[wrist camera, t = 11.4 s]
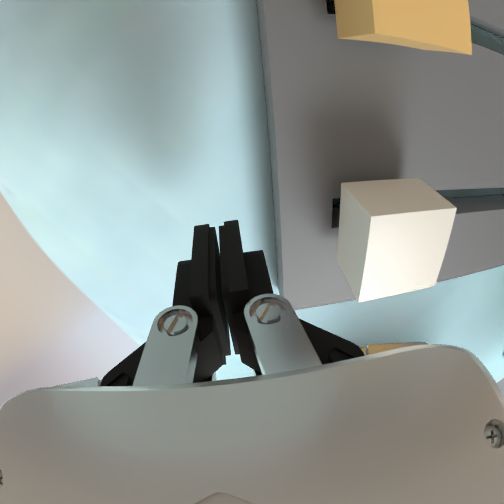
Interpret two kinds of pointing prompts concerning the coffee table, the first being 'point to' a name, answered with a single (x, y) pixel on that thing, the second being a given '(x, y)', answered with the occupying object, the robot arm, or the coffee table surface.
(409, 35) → the block
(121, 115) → the coffee table surface
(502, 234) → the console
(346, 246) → the block
